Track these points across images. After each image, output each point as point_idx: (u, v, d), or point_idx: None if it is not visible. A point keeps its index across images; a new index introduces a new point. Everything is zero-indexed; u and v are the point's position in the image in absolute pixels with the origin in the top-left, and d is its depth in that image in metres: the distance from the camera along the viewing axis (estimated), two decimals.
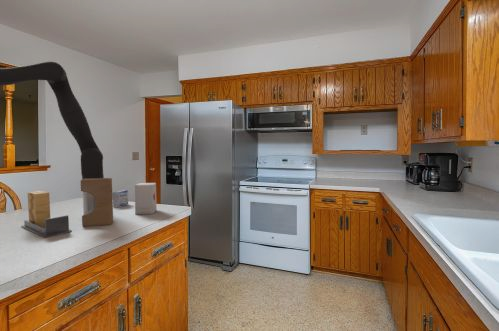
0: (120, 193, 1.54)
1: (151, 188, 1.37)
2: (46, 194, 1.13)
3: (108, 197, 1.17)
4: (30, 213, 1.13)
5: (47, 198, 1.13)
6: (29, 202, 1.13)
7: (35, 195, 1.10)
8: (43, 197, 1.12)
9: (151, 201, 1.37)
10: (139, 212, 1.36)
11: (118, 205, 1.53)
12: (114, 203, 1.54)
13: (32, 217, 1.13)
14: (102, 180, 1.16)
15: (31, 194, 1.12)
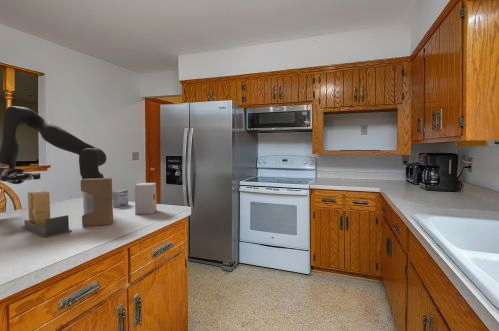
0: (120, 193, 1.54)
1: (151, 188, 1.37)
2: (46, 194, 1.13)
3: (108, 197, 1.17)
4: (30, 213, 1.13)
5: (47, 198, 1.13)
6: (29, 202, 1.13)
7: (35, 195, 1.10)
8: (43, 197, 1.12)
9: (151, 201, 1.37)
10: (139, 212, 1.36)
11: (118, 205, 1.53)
12: (114, 203, 1.54)
13: (32, 217, 1.13)
14: (102, 180, 1.16)
15: (31, 194, 1.12)
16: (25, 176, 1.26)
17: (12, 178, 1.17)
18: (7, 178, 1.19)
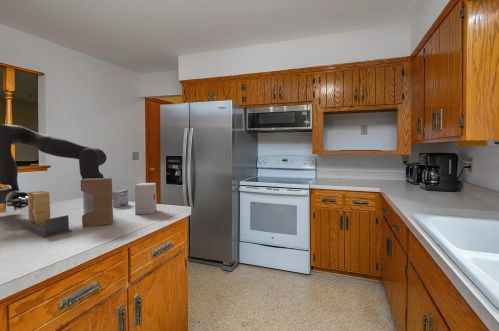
0: (120, 193, 1.54)
1: (151, 188, 1.37)
2: (46, 194, 1.13)
3: (108, 197, 1.17)
4: (30, 213, 1.13)
5: (47, 198, 1.13)
6: (29, 202, 1.13)
7: (35, 195, 1.10)
8: (43, 197, 1.12)
9: (151, 201, 1.37)
10: (139, 212, 1.36)
11: (118, 205, 1.53)
12: (114, 203, 1.54)
13: (32, 217, 1.13)
14: (102, 180, 1.16)
15: (31, 194, 1.12)
16: None
17: None
18: (23, 203, 1.20)
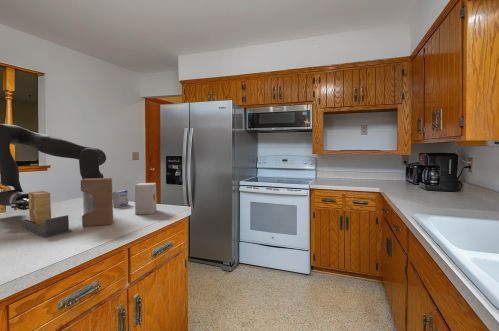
0: (120, 193, 1.54)
1: (151, 188, 1.37)
2: (47, 194, 1.12)
3: (108, 197, 1.17)
4: (31, 213, 1.13)
5: (48, 198, 1.13)
6: (30, 202, 1.13)
7: (36, 195, 1.09)
8: (44, 197, 1.12)
9: (151, 201, 1.37)
10: (139, 212, 1.36)
11: (118, 205, 1.53)
12: (114, 203, 1.54)
13: (33, 217, 1.12)
14: (102, 180, 1.16)
15: (32, 194, 1.11)
16: None
17: None
18: (27, 204, 1.17)
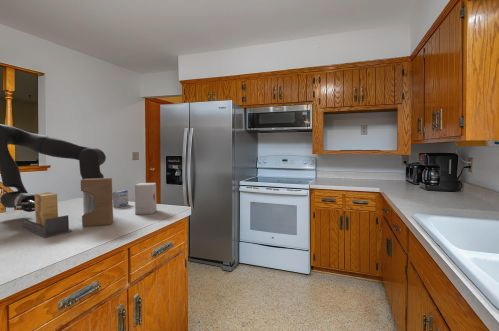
0: (120, 193, 1.54)
1: (151, 188, 1.37)
2: (54, 196, 1.09)
3: (108, 197, 1.17)
4: (37, 216, 1.09)
5: (55, 200, 1.09)
6: (36, 204, 1.09)
7: (43, 197, 1.06)
8: (50, 199, 1.08)
9: (151, 201, 1.37)
10: (139, 212, 1.36)
11: (118, 205, 1.53)
12: (114, 203, 1.54)
13: (39, 220, 1.08)
14: (102, 180, 1.16)
15: (38, 196, 1.07)
16: None
17: None
18: (33, 206, 1.13)
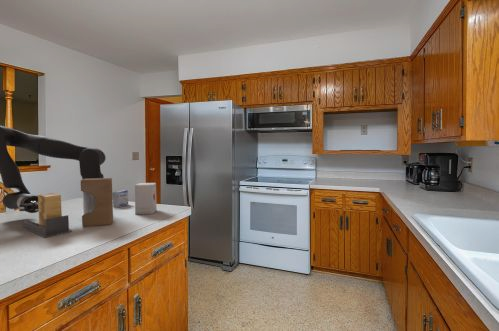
0: (120, 193, 1.54)
1: (151, 188, 1.37)
2: (58, 197, 1.07)
3: (108, 197, 1.17)
4: (41, 217, 1.07)
5: (59, 201, 1.07)
6: (39, 205, 1.07)
7: (46, 198, 1.04)
8: (54, 200, 1.06)
9: (151, 201, 1.37)
10: (139, 212, 1.36)
11: (118, 205, 1.53)
12: (114, 203, 1.54)
13: (42, 221, 1.06)
14: (102, 180, 1.16)
15: (42, 197, 1.05)
16: None
17: None
18: (36, 207, 1.11)
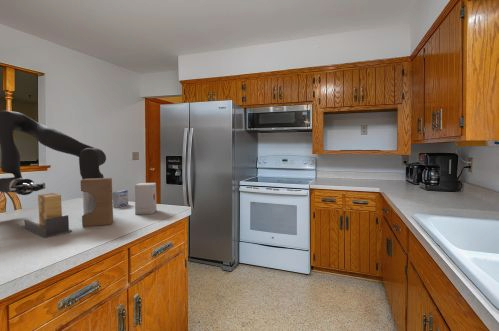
0: (120, 193, 1.54)
1: (151, 188, 1.37)
2: (58, 197, 1.07)
3: (108, 197, 1.17)
4: (41, 217, 1.07)
5: (59, 201, 1.07)
6: (40, 205, 1.07)
7: (46, 198, 1.03)
8: (54, 200, 1.06)
9: (151, 201, 1.37)
10: (139, 212, 1.36)
11: (118, 205, 1.53)
12: (114, 203, 1.54)
13: (43, 221, 1.06)
14: (102, 180, 1.16)
15: (42, 197, 1.05)
16: None
17: (32, 188, 1.15)
18: (27, 188, 1.16)
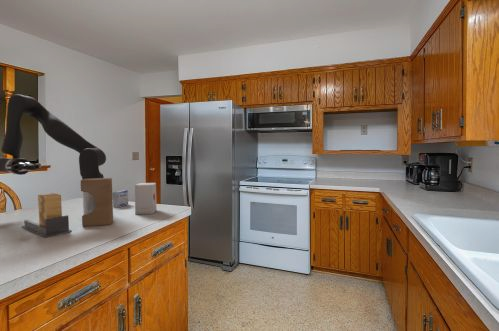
0: (120, 193, 1.54)
1: (151, 188, 1.37)
2: (58, 197, 1.07)
3: (108, 197, 1.17)
4: (41, 217, 1.07)
5: (59, 201, 1.07)
6: (40, 205, 1.07)
7: (46, 198, 1.03)
8: (54, 200, 1.06)
9: (151, 201, 1.37)
10: (139, 212, 1.36)
11: (118, 205, 1.53)
12: (114, 203, 1.54)
13: (43, 221, 1.06)
14: (102, 180, 1.16)
15: (42, 197, 1.05)
16: None
17: (28, 167, 1.16)
18: (22, 167, 1.17)
